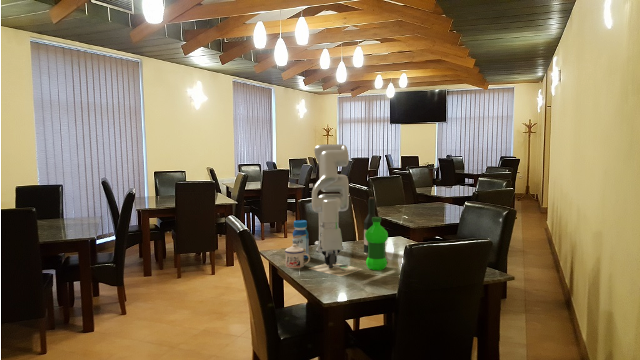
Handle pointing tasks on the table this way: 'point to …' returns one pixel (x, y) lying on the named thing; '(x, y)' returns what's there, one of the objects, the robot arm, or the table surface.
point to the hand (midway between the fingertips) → (330, 263)
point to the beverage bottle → (301, 236)
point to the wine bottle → (369, 220)
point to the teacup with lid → (295, 257)
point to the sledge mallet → (333, 260)
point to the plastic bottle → (376, 245)
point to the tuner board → (336, 269)
